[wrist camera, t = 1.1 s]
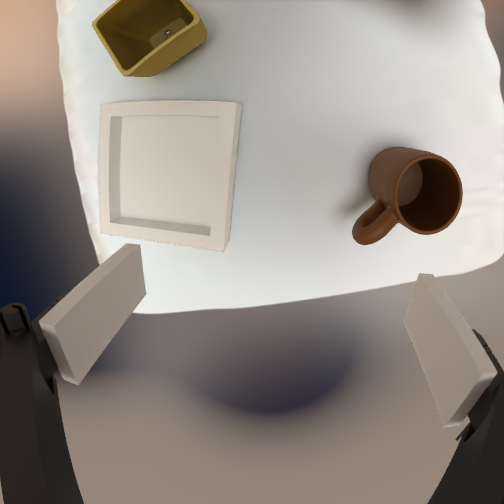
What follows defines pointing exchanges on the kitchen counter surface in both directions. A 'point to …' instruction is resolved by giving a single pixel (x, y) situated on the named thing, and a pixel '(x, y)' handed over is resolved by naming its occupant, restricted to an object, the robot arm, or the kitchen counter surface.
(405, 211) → the mug
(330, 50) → the kitchen counter surface
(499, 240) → the kitchen counter surface
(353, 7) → the kitchen counter surface
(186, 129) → the white square tray
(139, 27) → the flower pot
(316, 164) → the kitchen counter surface
